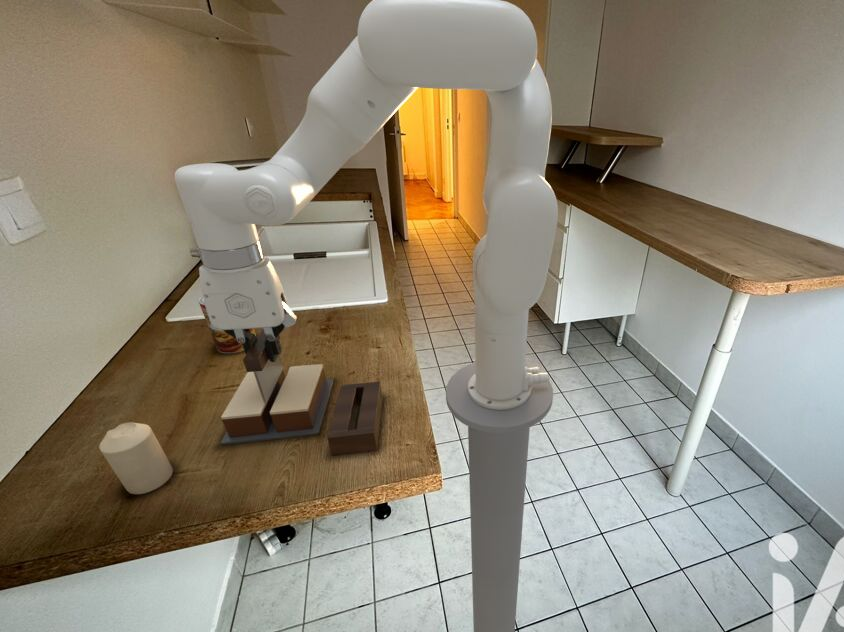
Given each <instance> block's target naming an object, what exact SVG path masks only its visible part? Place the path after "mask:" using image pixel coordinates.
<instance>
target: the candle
mask: <svg viewBox="0 0 844 632" xmlns="http://www.w3.org/2000/svg"><path fill="white" fill-rule="evenodd" d="M98 447H99V448H98V449H99V450H100V452H101V453H102V455H103V457H104V458H105V460H106V461H107V463H108V464H109V466H110V467H111V469H112V471H113V472H114V474H115V475H116V476H117V478H118V479H119V481H120V482H121V484H122V487H124V489H125V490H126V491H127V492H128V493H129V494H132V495H143V494H147V493H150V492H152V491H154V490H157V489H158V488H160V487H161V486H163V485H164V484H166V483H167V482H168V481H169V480H170V478H171V477H172V475H173V472H174V469H173V466H172V464H171V462H170V460H169V459H168V456H167V455H166V453H165V451H164V450H163V448H162V446H161V444H160V442H159V440H158V438H157V437H156V435H155V433H154V431H153V429H152V428H151V426H150V425H148V424H146V423H138V422H132V421H129V422H124V423H120V424H119V425H117V426H116V427H115V428H113V429H110V430H108V431H107V432H106V434H105V435H104V437H103V438H102V440H101V441H100V443H99V446H98Z"/></svg>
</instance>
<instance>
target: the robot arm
mask: <svg viewBox="0 0 844 632" xmlns="http://www.w3.org/2000/svg"><path fill="white" fill-rule="evenodd" d="M537 58H538V37H537V32H536V29H535V27H534V24H533V23H532V21H531V19H530V17H529V16H528V15H527V14H526V13H525V12H524V11H523V10H522V9H521V8H520V7H519V6H517V5H515V4H514V3H511V2H509V1H506V0H371V1H370V2H368V4H367V5H366V6H365V7H364V10H363V11H362V12H361V14H360V17H359V20H358V26H357V36H355V37H354V39H353V40H352V41H351V42H350V43H349V45H348V46H347V47H346V48H345V50H344V51H343V52H342V54H341V55H339V57H338V58H337V59H336V60H335V62H333V64H332V65H331V66H330V68H329V69H328V70H327V71H326V72H325V73H324V75H323V76H322V77H321V78H320V79H319V80H318V81H317V83H316V84H315V85H314V86H313V87H312V88H311V91H310V92H309V94H308V97H307V101H306V110H305V113H304V116H303V117H302V119H301V121H300V123H299V125H298V126H297V128H296V129H295V130H294V132H293V133H292V134H291V135H290V137H289V138H288V139H287V140H286V141H285V142H284V144H283V145H281V147H280V148H279V149H278V150H277V152H276V153H275V154H274V155H273V156H272V157H271V158H270V159H269V160H266V161H264V162H263V163H260V164H258V165H256V166H254V167H250V168H247V169H243V170H239V169H237V168H236V167H235V166H233V165H231V164H227V163H217V162H212V163H210V162H209V163H208V162H206V163H195V164H194V163H193V164H188V165H183V166H181V167H179V168H178V169H176V171H175V172H174V182H175V185H176V188H177V191H178V194H179V197H180V200H181V203H182V205H183V208H184V211H185V214H186V216H187V220H188V223H189V225H190V227H191V230H192V234H193V236H194V239H195V241H196V245H197V246H196V247H190V249H189V254H190V256H191V257H192V258H198V259H200V260H201V262H202V264H201V265H200V266H199V268H198V272H199V273H198V274H199V283H200V289H201V294H202V296H203V299H204V303H205V307H206V310H207V313H208V317H209V319H210V322H211V323H210V328H211V329H213V330H217V331H221V332H226V333H227V334H229V335H231V336H232V337H234V338H236V339H237V341H238V342H239V343H242V345H243V348H244V351H243V352H244V353H245V355H246V354H247V352H248V351H249V349H250V348H251V346H252V345H253V343H254V342H255V340H256V338H257V337H258V336H257V334H256V333H255V334H256V335H255V334H252V333H251V329H253V328H254V329H264V332H265V335H266V341H265V347H266V350H267V353H268V356H269V360H270V361H271V362H275V361H276V359H277V357H278V355H281V353H282V352H283V351H282V350H283V349H282V346H281V342H280V339H279V338H278V335H279V336H280V335H281V333H282V332H283V331H284V330H286V329H288V328H290V327H292V326H295V325H296V323H297V321H298V319H299V318H298V316H297V315H295V313H294V311H292V309H291V308H290V307H289V302H288V300H287V296H286V294H285V293H286V292H285V290H284V288H283V285H282V282H281V279H280V277H279V275H278V273H277V271H276V269H275V267H274V265H273V263H272V261H271V260H270V258H268V257H265V255H264V252H263V251H264V250H263V249H262V248H263V247H262V244H261V241H260V238H259V237H260V236H259V233H258V230H257V227H256V226H264V227H277V226H282V225H285V224H287V223H288V222H290V221H291V220H293V219H294V218H295V217H296V216H297V215H298V214H299V213H300V212H301V211H302V210H303V209H304V208H305V207H306V206H307V205H309V204H310V203H311V201H312V200H313V199H314V198H315V196H317V195H318V193H319V192H320V191H321V190H322V189H323V188H324V186H326V185H327V183H329V181H330V180H331V179H332V178H333V177H334V176H335V175H336V173H337V172H338V171H340V169H341V168H342V167H343V166H344V165H345V164H346V162H347V161H349V159H350V158H352V157H354V155H356V154H358V153H360V152H361V151H362V149H364V147H365V146H366V145H367V144H369V142H370V141H371V140H372V139H373V137H374V136H375V135H377V133H378V132H379V131H380V130H381V129H382V128H383V127H384V126H385V124H386V123H387V122H388V121H389V120H390V119H391V118H392V117H393V115H394V114H395V113H396V112H397V111H398V110H399V109H400V108H401V107H402V105H404V104H405V102H406V101H408V99H409V98H410V97H411V96H412V95H413V94H414V93H415V92H416V90H418V88H422V89H435V90H436V89H437V90H470V91H473V90H474V91H483V92H485V94H486V96H487V98H488V101H489V104H490V110H491V111H490V112H491V127H490V143H489V152H488V159H487V167H486V176H485V180H484V187H483V192H482V202H483V208H484V210H485V213H486V215H487V229H486V234H485V235H483V236H482V237H481V238H480V239H479V241H478V242H477V244H476V246H475V247H474V251H473V254H472V278H473V279H472V280H473V295H474V296H473V297H474V298H473V299H474V340H475V341H474V349H475V350H474V351H475V353H474V357H475V359H474V360H475V361H474V362H476V373H475V374H474V375H473V376H472V377H471V378H470V380H469V382H468V393H469V396H470V397H471V399H472V400H473V401H474V402H475V403H477V404H478V405H480V406H482V407H485V408H488V409H492V410H507V409H512V408H515V407H518V406H520V405H522V404H523V403H525V402H526V401H527V400H528V399H529V397H530V395H531V391H532V385H533V383H545V382H548V381H550V377H549V373H548V372H542V373H539V370H540V367H539V366H533V367H534V368H527V367H525V363H526V357H527V344H528V343H527V340H528V325H529V311H530V309H531V308H532V307H534V305H535V304H536V303H537V302H538V301H539V299H540V298H541V296H542V293H543V291H544V288H545V284H546V281H547V277H548V272H549V268H550V263H551V258H552V253H553V248H554V243H555V238H556V233H557V228H558V221H559V219H558V218H559V207H558V200H557V197H556V194H555V191H554V190H553V188H552V186H551V185H550V183H548V181H547V180H546V169H547V162H548V155H549V148H550V140H551V133H552V123H553V122H552V121H553V105H552V97H551V92H550V88H549V84H548V82H547V78H546V76H545V73H544V71H543V69H542V66H541V65H540V62H539V60H538V59H537Z"/></svg>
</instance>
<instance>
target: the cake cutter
mask: <svg viewBox="0 0 844 632" xmlns="http://www.w3.org/2000/svg"><path fill="white" fill-rule="evenodd" d="M256 337H257V338H256V340H255V342H254V343H253V345H252V346H251V348H250V349H249V351H248V352H247V354H245V355H244V356H243V359H242V363H243V364H244V365H243V366H244V367H245V371H246V373H247V372H254V375H255V378H256V381H257V384H258V387H259V390H260V393H261V395H262V398H263V401H264V403H267V402H268V399H269V397H270V395H271V393H272V391H273V389H274V387H275V385H276V383H277V380H278V378H279V376H280V374H281V372H282V370H283V371H284V365H283V362H282V359H281V354H279V355H278V357H277V359H276V361H275V362H271V361H270V360H269V356H268V353H267V350H266V347H265V341H266V335H265V332H264V329H263V328H261V330H260V332H259V333H258V334H257V336H256ZM278 338H279V340H281V336H280V334H279V335H278Z"/></svg>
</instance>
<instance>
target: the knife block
mask: <svg viewBox="0 0 844 632" xmlns="http://www.w3.org/2000/svg"><path fill="white" fill-rule="evenodd" d="M339 388H340V389H339V390H338V394H337V395H338V396H337V399H336V404H335V407H334V411H333V415H332V420H331V423H330V426H329V431H328V434H327V440H328V445H329V449H330V452H331V456H341V455H348V454H349V455H350V454H358V453H366V452H374V451H378V447H379V437H380V428H381V419H382V412H383V411H382V410H383V409H382V408H383V400H384V396H383V389H382V383H381V381H371V382H358V383H348V384H341V385H340V387H339ZM359 407H360V408H359ZM358 413H359V414H358ZM356 424H357V426H356Z"/></svg>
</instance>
